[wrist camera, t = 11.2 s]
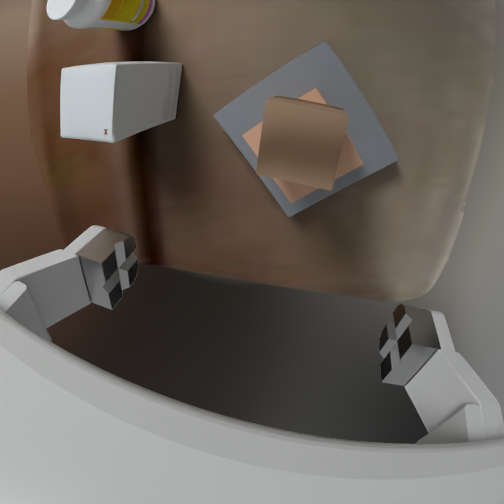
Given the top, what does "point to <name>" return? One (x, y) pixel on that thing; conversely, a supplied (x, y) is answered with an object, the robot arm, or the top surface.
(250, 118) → the base slab
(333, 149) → the walnut block
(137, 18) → the supplement bottle
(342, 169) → the terracotta block
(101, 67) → the supplement box
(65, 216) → the top surface
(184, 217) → the top surface
